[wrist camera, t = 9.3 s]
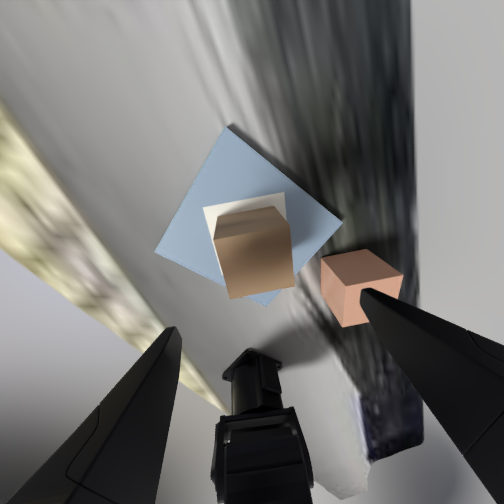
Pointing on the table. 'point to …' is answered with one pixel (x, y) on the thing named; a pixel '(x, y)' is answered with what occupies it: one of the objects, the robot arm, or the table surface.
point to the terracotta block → (355, 283)
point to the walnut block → (254, 251)
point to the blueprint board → (242, 210)
